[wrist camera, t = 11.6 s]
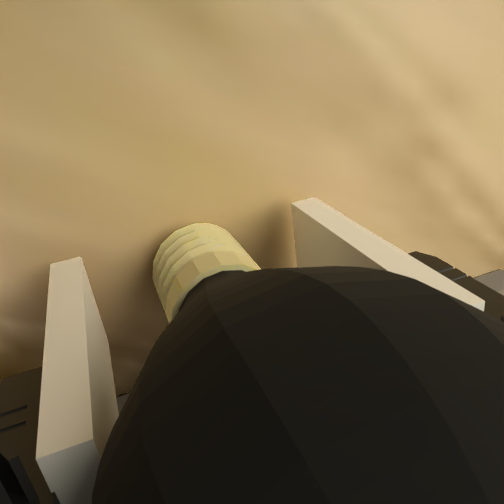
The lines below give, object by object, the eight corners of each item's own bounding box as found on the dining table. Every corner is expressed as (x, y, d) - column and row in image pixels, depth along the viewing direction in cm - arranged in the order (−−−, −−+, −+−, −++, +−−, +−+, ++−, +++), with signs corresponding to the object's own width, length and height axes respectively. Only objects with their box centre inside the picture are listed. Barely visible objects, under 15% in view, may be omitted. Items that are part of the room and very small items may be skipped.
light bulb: (100, 379, 15) (183, 1195, 4) (46, 165, 12) (-99, 1046, 1) (298, 326, 16) (689, 799, 6) (293, 131, 14) (1002, 398, 3)
